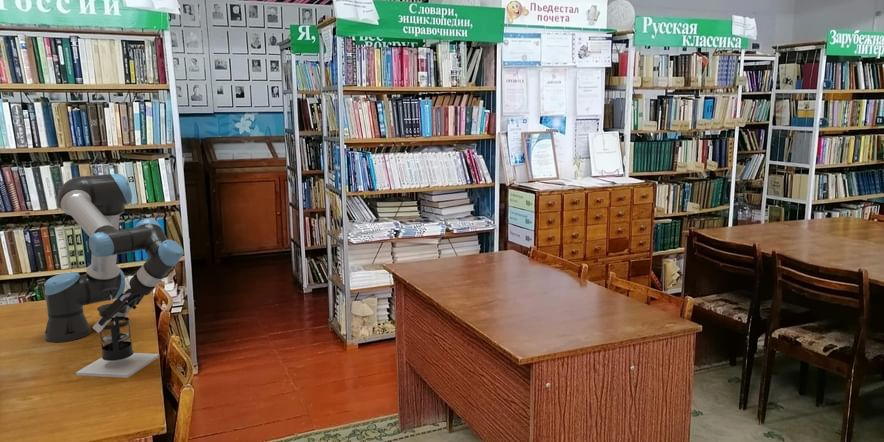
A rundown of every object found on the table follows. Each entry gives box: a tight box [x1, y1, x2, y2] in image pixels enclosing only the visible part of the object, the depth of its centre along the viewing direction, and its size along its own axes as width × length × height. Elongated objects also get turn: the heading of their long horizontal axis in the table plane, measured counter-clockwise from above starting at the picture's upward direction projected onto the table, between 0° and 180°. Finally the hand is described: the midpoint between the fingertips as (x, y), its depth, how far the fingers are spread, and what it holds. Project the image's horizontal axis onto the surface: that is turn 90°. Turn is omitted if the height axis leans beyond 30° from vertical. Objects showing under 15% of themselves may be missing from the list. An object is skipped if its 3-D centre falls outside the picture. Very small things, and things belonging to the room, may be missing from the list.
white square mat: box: [75, 352, 160, 379], centre depth 219 cm, size 18×18×1 cm
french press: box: [96, 288, 135, 361], centre depth 216 cm, size 12×9×23 cm
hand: (106, 324), depth 217 cm, fingers closed on french press, 10 cm apart
